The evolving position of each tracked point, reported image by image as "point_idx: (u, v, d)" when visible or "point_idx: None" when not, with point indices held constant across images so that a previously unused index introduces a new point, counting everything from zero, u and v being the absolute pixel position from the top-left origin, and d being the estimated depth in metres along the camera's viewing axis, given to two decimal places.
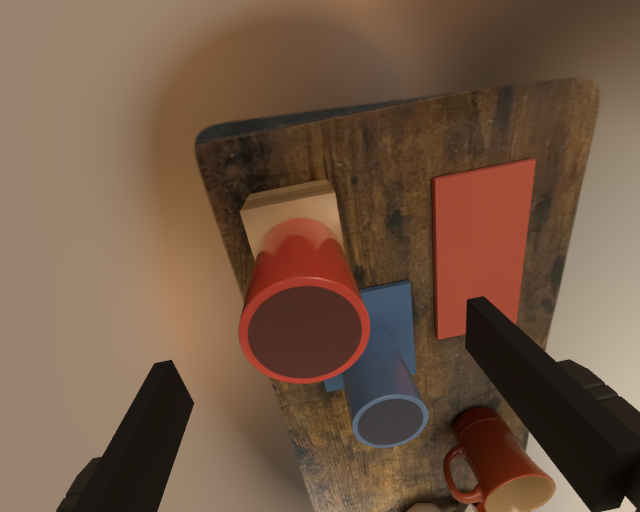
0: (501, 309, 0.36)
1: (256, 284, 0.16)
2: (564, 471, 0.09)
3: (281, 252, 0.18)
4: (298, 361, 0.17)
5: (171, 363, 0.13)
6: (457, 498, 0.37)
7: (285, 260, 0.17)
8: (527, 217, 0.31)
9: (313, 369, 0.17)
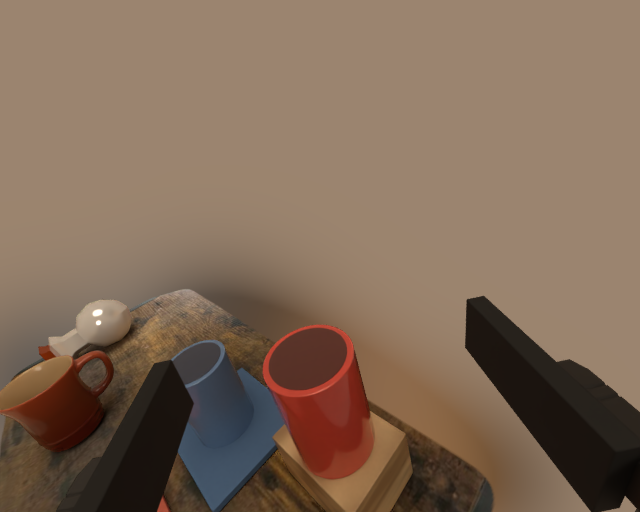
0: None
1: (357, 366, 0.23)
2: (564, 471, 0.09)
3: (357, 404, 0.23)
4: (300, 341, 0.25)
5: (171, 363, 0.13)
6: (99, 351, 0.44)
7: (351, 395, 0.22)
8: None
9: (288, 343, 0.25)
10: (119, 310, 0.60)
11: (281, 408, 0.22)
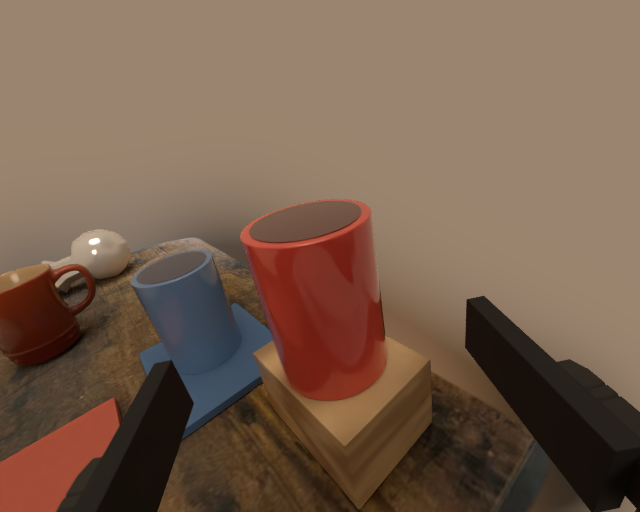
0: None
1: (373, 238, 0.16)
2: (564, 471, 0.09)
3: (368, 290, 0.16)
4: (298, 211, 0.18)
5: (171, 363, 0.13)
6: (80, 265, 0.39)
7: (361, 270, 0.15)
8: None
9: (281, 212, 0.18)
10: (117, 242, 0.56)
11: (259, 278, 0.15)
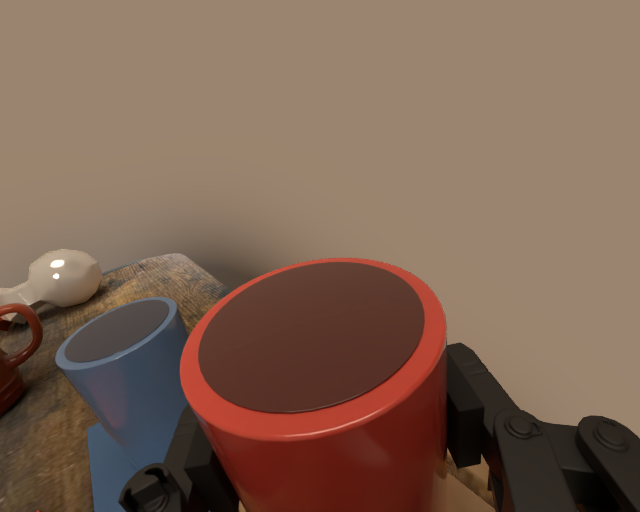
0: None
1: None
2: None
3: (438, 467, 0.08)
4: (297, 285, 0.10)
5: None
6: (21, 304, 0.31)
7: (431, 443, 0.07)
8: None
9: (266, 286, 0.10)
10: (84, 264, 0.48)
11: (217, 455, 0.07)
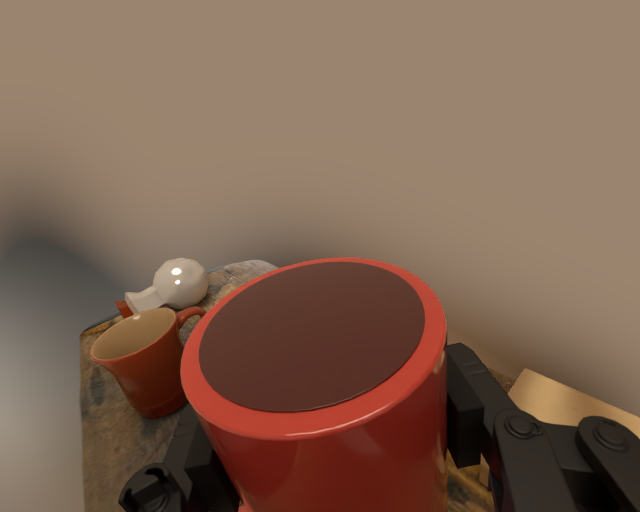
0: None
1: None
2: None
3: (438, 467, 0.08)
4: (297, 284, 0.10)
5: None
6: (200, 308, 0.37)
7: (432, 442, 0.07)
8: None
9: (267, 286, 0.10)
10: (199, 271, 0.54)
11: (217, 454, 0.07)
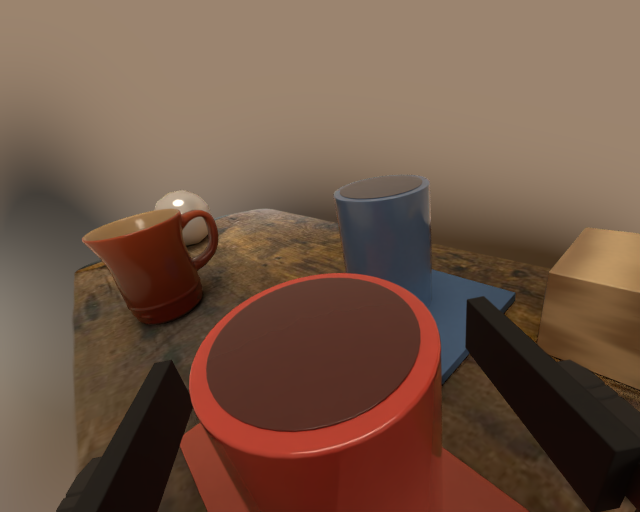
0: None
1: None
2: (564, 471, 0.09)
3: (433, 478, 0.08)
4: (299, 301, 0.11)
5: (171, 363, 0.13)
6: (205, 211, 0.34)
7: (426, 456, 0.07)
8: None
9: (270, 302, 0.11)
10: (203, 204, 0.51)
11: (224, 467, 0.08)
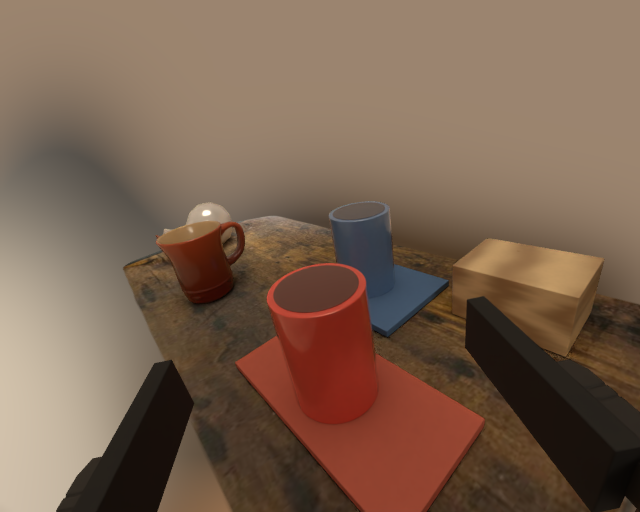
0: (265, 363, 0.30)
1: (367, 302, 0.21)
2: (564, 470, 0.09)
3: (363, 343, 0.21)
4: (309, 275, 0.23)
5: (171, 363, 0.13)
6: None
7: (358, 329, 0.20)
8: (326, 462, 0.20)
9: (296, 276, 0.23)
10: (226, 214, 0.64)
11: (282, 335, 0.20)
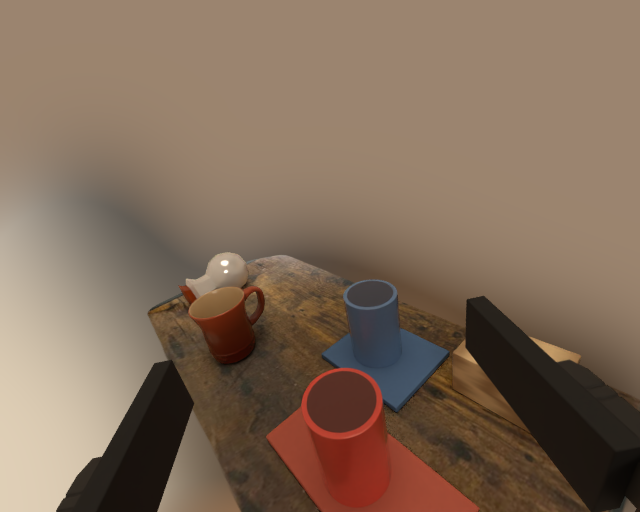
0: (293, 438, 0.35)
1: (383, 414, 0.26)
2: (564, 471, 0.09)
3: (380, 447, 0.26)
4: (334, 383, 0.28)
5: (171, 363, 0.13)
6: (257, 287, 0.52)
7: (377, 440, 0.25)
8: None
9: (323, 383, 0.28)
10: (242, 263, 0.69)
11: (315, 443, 0.25)
